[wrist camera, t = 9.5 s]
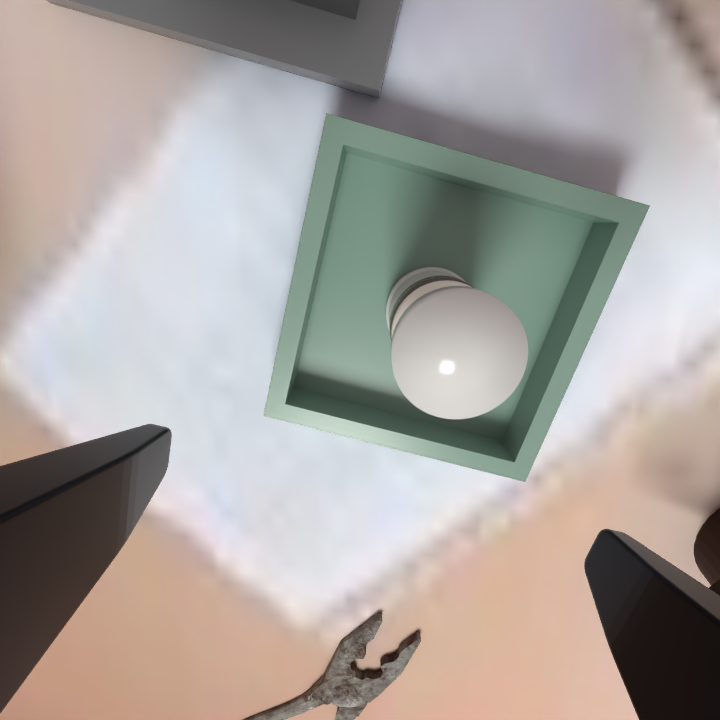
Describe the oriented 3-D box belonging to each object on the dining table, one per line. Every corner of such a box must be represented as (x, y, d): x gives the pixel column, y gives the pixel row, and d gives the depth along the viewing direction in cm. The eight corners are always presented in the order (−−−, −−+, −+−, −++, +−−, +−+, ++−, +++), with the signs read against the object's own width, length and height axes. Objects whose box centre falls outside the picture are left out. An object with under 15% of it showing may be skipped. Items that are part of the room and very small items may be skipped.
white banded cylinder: (375, 338, 19) (375, 399, 12) (400, 255, 18) (416, 272, 11) (454, 360, 19) (497, 433, 12) (485, 280, 18) (550, 312, 11)
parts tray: (276, 393, 21) (263, 415, 18) (333, 129, 17) (326, 113, 15) (508, 452, 21) (524, 481, 19) (612, 208, 17) (649, 205, 15)
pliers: (193, 789, 30) (268, 586, 24) (198, 774, 31) (272, 574, 25) (322, 823, 31) (427, 635, 24) (323, 807, 31) (425, 621, 25)
